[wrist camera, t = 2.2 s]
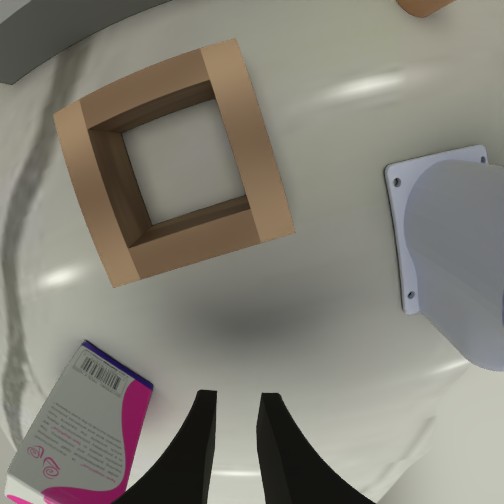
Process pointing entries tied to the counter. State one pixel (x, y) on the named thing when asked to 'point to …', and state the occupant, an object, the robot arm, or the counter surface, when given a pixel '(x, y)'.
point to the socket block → (124, 183)
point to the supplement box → (82, 435)
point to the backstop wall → (53, 28)
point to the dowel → (422, 6)
